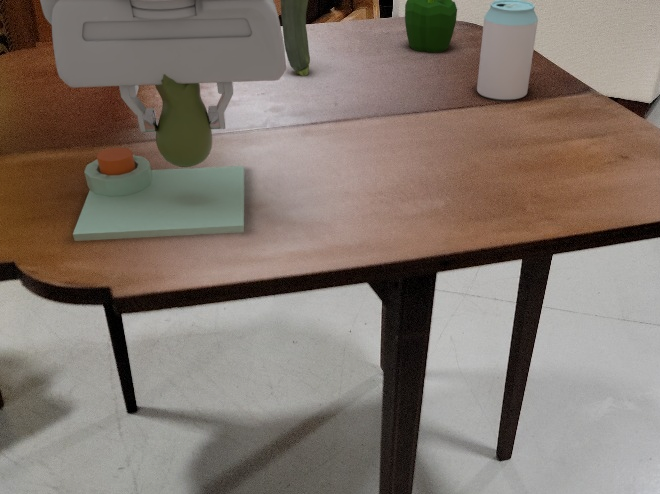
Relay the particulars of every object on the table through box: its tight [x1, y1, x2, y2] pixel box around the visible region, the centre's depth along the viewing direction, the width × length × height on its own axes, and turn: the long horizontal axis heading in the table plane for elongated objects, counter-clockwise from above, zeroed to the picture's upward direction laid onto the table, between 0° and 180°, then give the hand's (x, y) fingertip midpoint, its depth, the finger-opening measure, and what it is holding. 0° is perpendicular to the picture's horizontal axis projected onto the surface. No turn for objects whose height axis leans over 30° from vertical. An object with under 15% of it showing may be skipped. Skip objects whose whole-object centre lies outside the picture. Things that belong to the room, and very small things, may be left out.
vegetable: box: [280, 0, 311, 77], centre depth 104 cm, size 4×4×20 cm
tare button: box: [96, 147, 136, 175], centre depth 76 cm, size 4×4×2 cm
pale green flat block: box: [72, 154, 246, 242], centre depth 75 cm, size 16×14×3 cm
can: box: [476, 0, 539, 101], centre depth 100 cm, size 7×7×12 cm
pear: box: [154, 74, 213, 168], centre depth 69 cm, size 6×5×10 cm
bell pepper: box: [404, 0, 458, 54], centre depth 118 cm, size 8×8×10 cm
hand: (184, 128), depth 70 cm, fingers closed on pear, 5 cm apart
